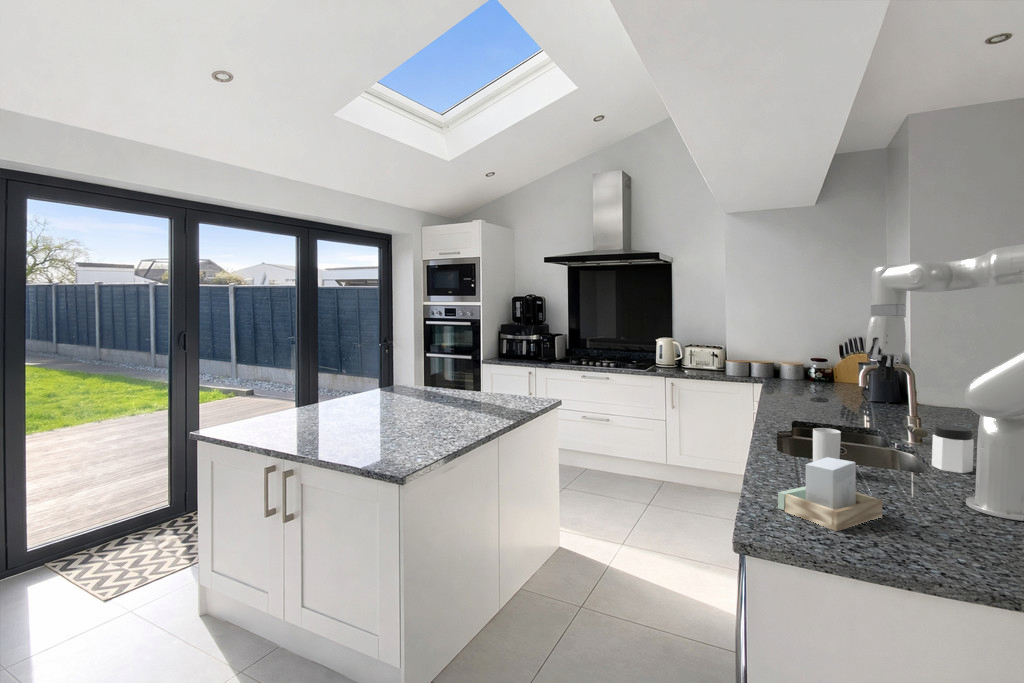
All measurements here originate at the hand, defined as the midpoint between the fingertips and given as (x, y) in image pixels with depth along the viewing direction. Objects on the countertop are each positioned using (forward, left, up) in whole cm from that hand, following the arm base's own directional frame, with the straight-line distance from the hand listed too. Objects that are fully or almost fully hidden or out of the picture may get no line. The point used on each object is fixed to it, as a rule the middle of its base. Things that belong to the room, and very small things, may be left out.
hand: (885, 381), depth 134 cm
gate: (0, +34, -27) cm, 43 cm away
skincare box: (-8, +34, -26) cm, 44 cm away
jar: (-2, -30, -27) cm, 41 cm away
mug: (+12, +4, -27) cm, 30 cm away
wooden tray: (-8, +35, -27) cm, 45 cm away
